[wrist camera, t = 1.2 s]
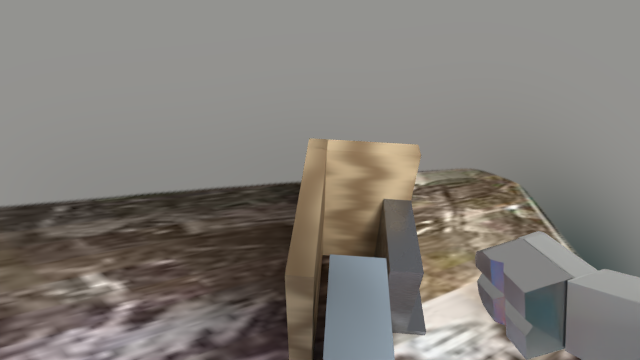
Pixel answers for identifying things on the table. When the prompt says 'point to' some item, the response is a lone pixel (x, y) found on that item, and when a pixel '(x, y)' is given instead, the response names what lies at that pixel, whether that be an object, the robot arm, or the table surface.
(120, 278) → the table surface
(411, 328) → the metal bookend
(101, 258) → the table surface
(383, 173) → the oak shelf
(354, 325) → the slate book box
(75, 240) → the table surface
